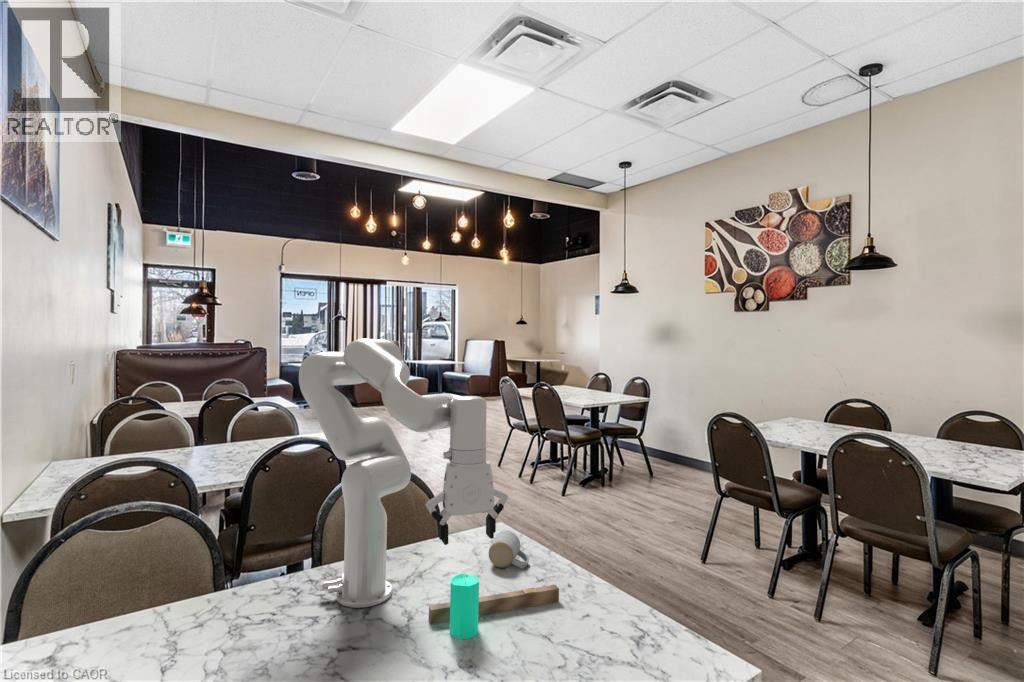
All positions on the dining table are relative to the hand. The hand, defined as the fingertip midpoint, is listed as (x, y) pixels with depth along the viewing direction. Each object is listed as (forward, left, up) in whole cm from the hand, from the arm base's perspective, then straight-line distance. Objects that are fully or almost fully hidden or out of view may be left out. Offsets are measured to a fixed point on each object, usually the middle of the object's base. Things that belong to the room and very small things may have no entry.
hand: (467, 539), depth 103 cm
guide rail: (+9, +6, -19) cm, 22 cm away
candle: (0, 0, -19) cm, 19 cm away
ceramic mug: (+20, +28, -19) cm, 39 cm away
